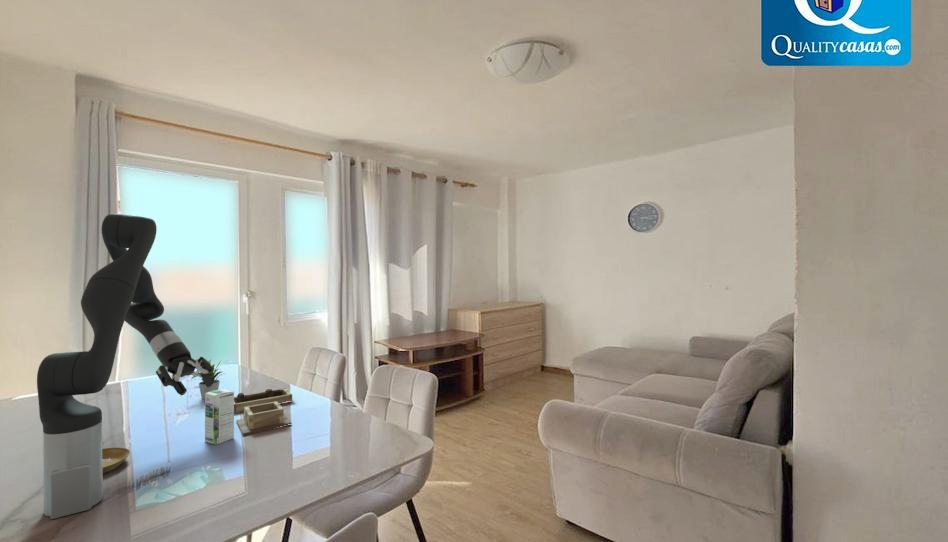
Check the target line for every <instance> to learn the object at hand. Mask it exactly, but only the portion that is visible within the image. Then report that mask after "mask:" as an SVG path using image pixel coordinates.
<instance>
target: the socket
mask: <svg viewBox="0 0 948 542" xmlns="http://www.w3.org/2000/svg"><path fill="white" fill-rule="evenodd" d="M292 423H293V422H291V420H290V419H289V418H288V416H286V415H285V413H284V408H283V407H282V404H281V405H280V404H279V403H278V402H277V401H275V402H269V403H264V404H258V405H253V406H247V407H244V411H243V418H240V419H236V424H237V426H238V429H239V431H240V432H241V434H242V436H243V437H244V436H248V435H253V434H254V435H255V434H258V433H262V432H268V431H271V429H273V430H275V429H274V428H277V427H280V426H284V425H288V424H292ZM277 429H278V428H277Z"/></svg>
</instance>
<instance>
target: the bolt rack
mask: <svg viewBox="0 0 948 542" xmlns="http://www.w3.org/2000/svg"><path fill="white" fill-rule="evenodd" d="M278 390H282V393H283V395H282V396H276V397H270V398H264V399H259V400H253V401H247V402H242V403H237V396H234V414H237V413H242V412H243V413H244V407H247V406H253V405H258V404H264V403H269V402H275V401H277V402H278V403H282V402H286V401H292V402H293V394H292V392H290V391H289V390H288V389H287V388H281V389H280V388H279V389H278ZM272 391H274V389H272ZM262 392H263V391H261V392H260V393H262ZM257 393H258V392H255V393H254V394H257ZM251 394H252V393H249V394H248V395H251Z"/></svg>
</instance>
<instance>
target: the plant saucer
mask: <svg viewBox="0 0 948 542" xmlns="http://www.w3.org/2000/svg"><path fill="white" fill-rule="evenodd" d="M130 454H131V450H130V449H129V448H126V447H120V446H119V447H115V446H114V447H106V448H102V459H105V461H106V459H109V458H110V459H111V461H112V462H111V461H109V462H108V461H106V462H105V461H103V463H102V467H103V473H104V474H105V473H108V472H111V471H113V470H115V469H116V468H118V467H119V466H120V465H122V464H123V463H124V461H125V460H126V459H127V458H128V457H129V455H130Z"/></svg>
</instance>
